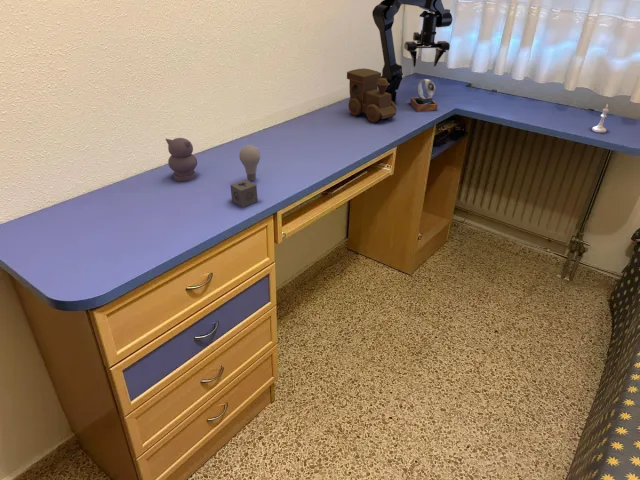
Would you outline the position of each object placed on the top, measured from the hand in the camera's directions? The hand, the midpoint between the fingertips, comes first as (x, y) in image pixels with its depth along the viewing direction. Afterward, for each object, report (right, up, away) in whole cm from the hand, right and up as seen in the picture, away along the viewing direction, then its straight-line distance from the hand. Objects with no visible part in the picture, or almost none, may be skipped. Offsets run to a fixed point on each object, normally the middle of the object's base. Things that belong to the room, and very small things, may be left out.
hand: (424, 66), depth 213 cm
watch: (-2, -20, -7) cm, 21 cm away
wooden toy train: (-26, -27, -18) cm, 41 cm away
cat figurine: (-87, -58, -67) cm, 124 cm away
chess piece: (+60, -35, -30) cm, 75 cm away
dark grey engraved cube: (-67, -66, -80) cm, 123 cm away
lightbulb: (-66, -59, -69) cm, 112 cm away
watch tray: (-2, -20, -7) cm, 21 cm away
